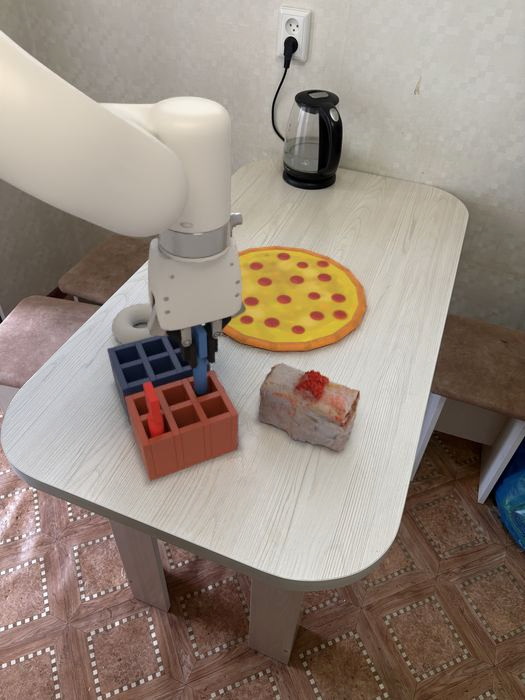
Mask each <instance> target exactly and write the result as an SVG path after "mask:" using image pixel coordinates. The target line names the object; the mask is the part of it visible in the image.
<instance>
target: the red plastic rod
mask: <svg viewBox="0 0 525 700" xmlns="http://www.w3.org/2000/svg"><path fill="white" fill-rule="evenodd" d="M143 388H144V394H145V399H146V405H147V407H148V410H149V412H148V415H147V419H148V424H149V430H150V435H151V438H153V437H156V436H159V435H162V434H165V431H164V424H163V418H162V413H161V411H160V405H159V399H158V397H157V395H156V392H155V390H154V388H153V385H152V383H151V381H150V382H147V383H143Z"/></svg>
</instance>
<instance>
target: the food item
mask: <svg viewBox="0 0 525 700" xmlns="http://www.w3.org/2000/svg"><path fill="white" fill-rule="evenodd" d="M259 390H260V391H259V413H258V422H261V423H265V424H269V425H273V426H274V427H275V428H279V429H281V430H283V431H286V432H287V434H289V437H290V438H291V439H293V440H294V441H295V442H296V441H299V442H302V443H306V442H308V443H310V444H311V445H321V446H324V447H326V448H328V449H330V450H331V451H334V450H335V451H336V452H337V453H339V452H342V451H343V450H344V447H345V446H346V444H347V441H348V440H349V439H350V437H351V434H352V430H353V427H354V424H355V420H356V418H357V411H358V410H357V409H358V405H359V402H360V400H361V392H360V391H361V390H358V389H355V388H350V387H349V386H346V385H344V384H340V383H338V382H334V381H331V380H330V378H329V377H327V375H323V374H321V372H320V371H317V370H315V369H310V370H307V371H303V370H302V369H298V368H296V367H293V366H291V365H288V364H286V363H284V362H281V363H277V364H275V365H273V366H271V367H270V371H269V372H268V373H267V374H266V376H265V378H264V380H263V381H262V384H261V385H260V388H259Z"/></svg>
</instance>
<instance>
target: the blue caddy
mask: <svg viewBox="0 0 525 700" xmlns="http://www.w3.org/2000/svg"><path fill="white" fill-rule="evenodd" d="M107 355H108V358H109V363H110V368H111V373H112V376H113V380H114V384H115V388H116V390H117V394H118V395H119V399H120V402H121V404H122V407H123V410H124V412H125V415H126V419H127V421H128V424H129V426H130V427H131V423H130V419H129V414H128V410H127V405H126V401H125V397H126V396H129V395H132V394H136V393H139V392H142V391H144V388H143V383H147V382H150V381H151V383H152V385H153V388H156V387H159V386H162V385H165V384H169V383H172V382H175V381H179V380H182V379H185V378H187V379H188V378H189V377H192V376H193V369H191V367H190V365H189V363H188V361H183V359H182V357H181V353H180V342H178V341H176V340H174V339H172V338H170V337H168V336H153V337H149V338H145V339H142V340H138V341H135V342H130V343H127V344H120V345H119V344H118V345H115V346H113V347H109V348H107ZM208 371H211V363H209V362H208V360H207V372H208Z"/></svg>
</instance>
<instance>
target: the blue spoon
mask: <svg viewBox="0 0 525 700" xmlns="http://www.w3.org/2000/svg"><path fill="white" fill-rule="evenodd" d="M202 325H203V324H199V325H195V326H191V336H192V338H193V340H194V342H195V344H196V349H197V367H196V368H194V369H193V379H194V393H195V395H196V397H201V396H204V395H207V394H208V393H207V333H206V331H205V329H204V328H203V326H202Z"/></svg>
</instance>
